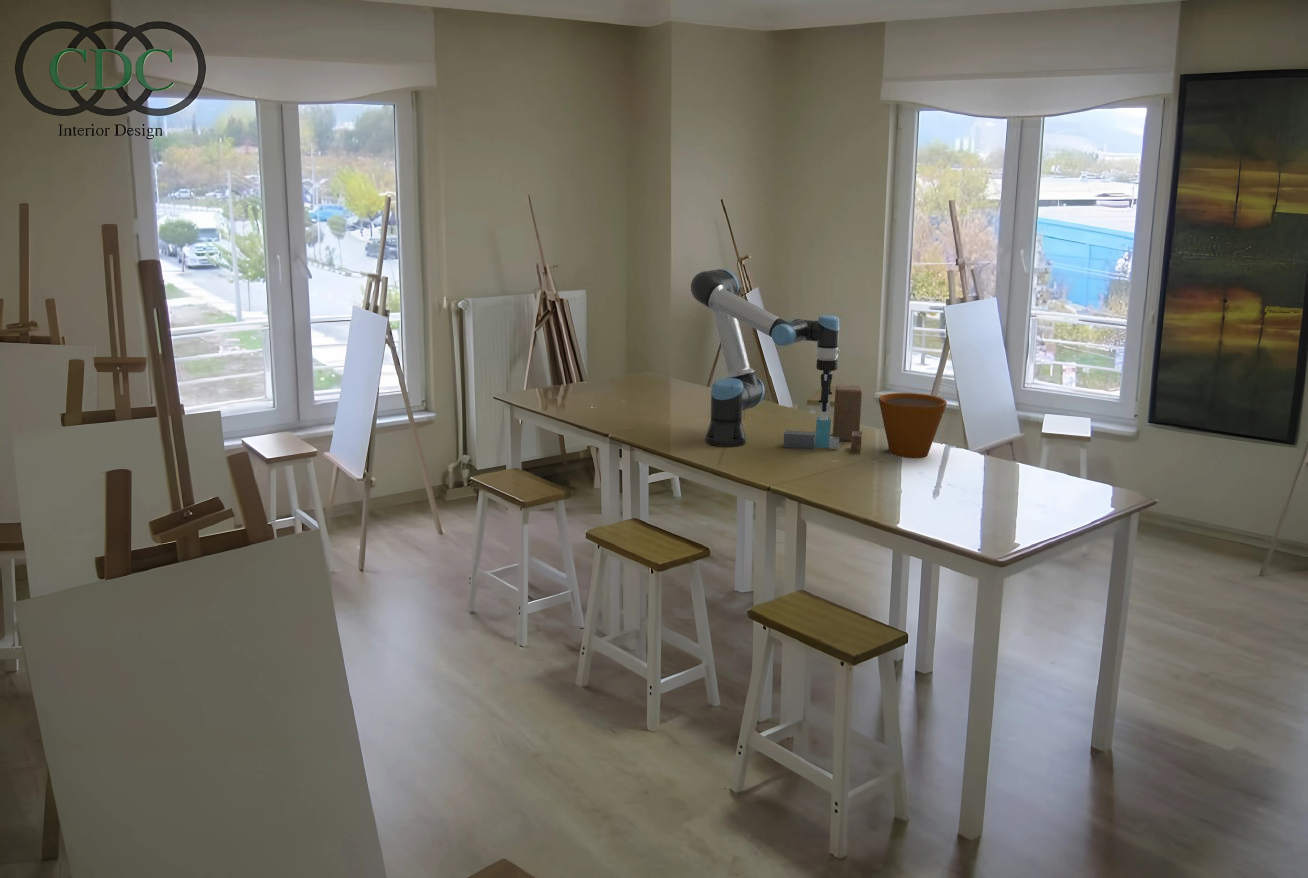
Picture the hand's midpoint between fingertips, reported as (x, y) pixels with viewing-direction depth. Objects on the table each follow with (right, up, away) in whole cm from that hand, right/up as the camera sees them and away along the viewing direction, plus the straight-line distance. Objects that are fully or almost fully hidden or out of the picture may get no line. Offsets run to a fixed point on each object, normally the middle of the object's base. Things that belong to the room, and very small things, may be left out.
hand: (824, 416), depth 383 cm
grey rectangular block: (-9, -11, +5) cm, 15 cm away
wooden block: (+11, -8, +20) cm, 24 cm away
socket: (+12, -13, +1) cm, 17 cm away
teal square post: (-4, -11, +4) cm, 12 cm away
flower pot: (+30, -14, -1) cm, 33 cm away
